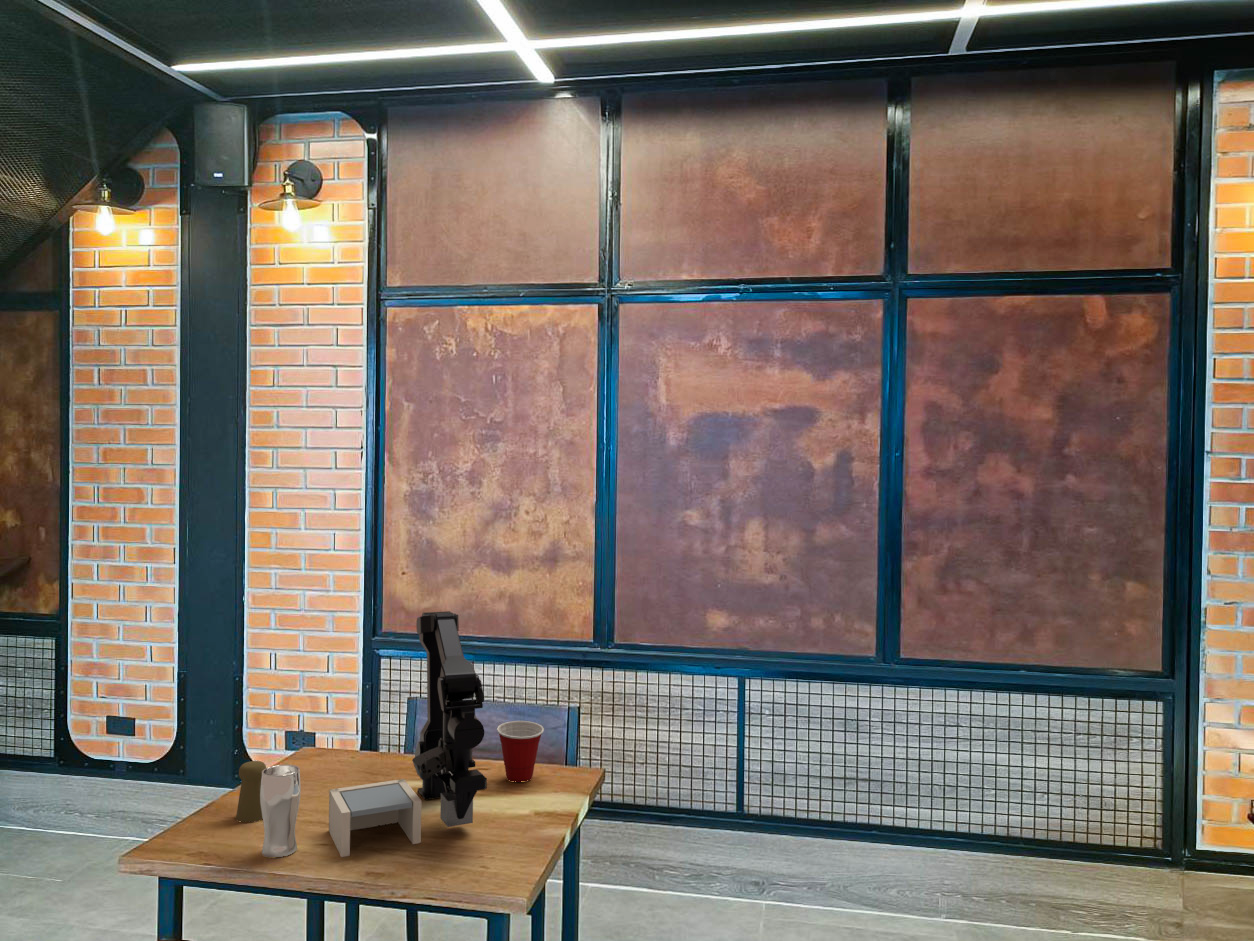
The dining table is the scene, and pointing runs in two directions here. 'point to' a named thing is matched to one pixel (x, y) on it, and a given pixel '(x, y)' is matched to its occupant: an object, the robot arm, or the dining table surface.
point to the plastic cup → (519, 748)
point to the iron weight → (453, 811)
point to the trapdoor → (376, 800)
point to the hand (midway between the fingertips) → (456, 813)
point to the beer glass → (280, 809)
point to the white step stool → (371, 816)
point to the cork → (250, 792)
